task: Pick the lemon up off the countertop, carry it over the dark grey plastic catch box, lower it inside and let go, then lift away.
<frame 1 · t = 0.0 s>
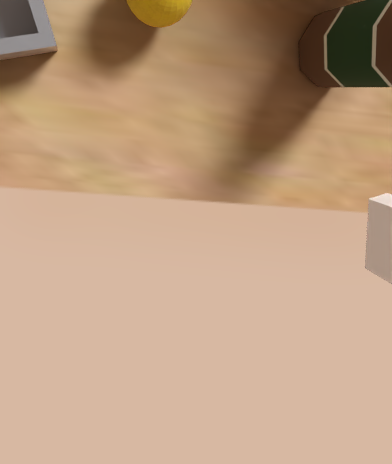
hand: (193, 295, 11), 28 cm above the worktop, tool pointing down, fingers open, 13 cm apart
beer bottle: (323, 50, 39), on the worktop
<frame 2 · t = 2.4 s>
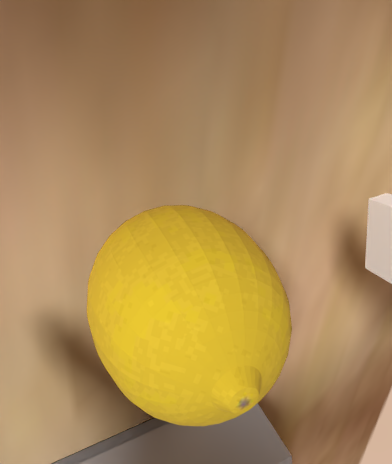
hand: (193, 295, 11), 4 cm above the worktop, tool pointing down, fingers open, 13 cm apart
lemon: (150, 246, 14), on the worktop
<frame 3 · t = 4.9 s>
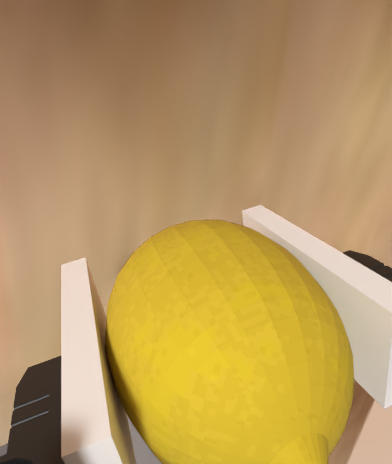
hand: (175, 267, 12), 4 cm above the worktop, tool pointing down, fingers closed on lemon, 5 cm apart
lemon: (171, 261, 13), point 3 cm above the worktop, touching gripper
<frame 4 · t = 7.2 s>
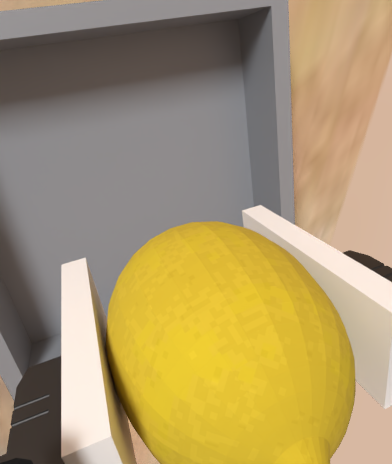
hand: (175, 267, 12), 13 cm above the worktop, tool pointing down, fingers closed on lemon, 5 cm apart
lemon: (172, 262, 13), point 12 cm above the worktop, touching gripper
catch box: (126, 190, 24), on the worktop
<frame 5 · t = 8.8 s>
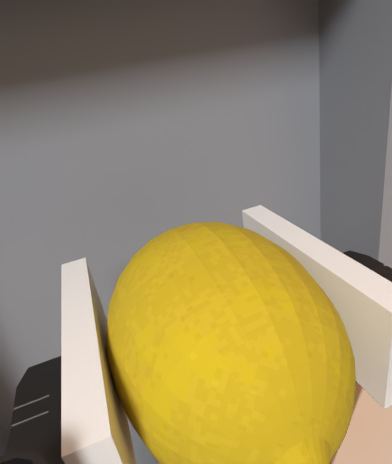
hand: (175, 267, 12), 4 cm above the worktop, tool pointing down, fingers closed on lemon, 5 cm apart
lemon: (172, 263, 13), point 4 cm above the worktop, touching gripper
catch box: (145, 225, 16), on the worktop
when the fingers open (2 cm above the worktop, at t = 10.0 s): lemon stays where it is, resting on catch box.
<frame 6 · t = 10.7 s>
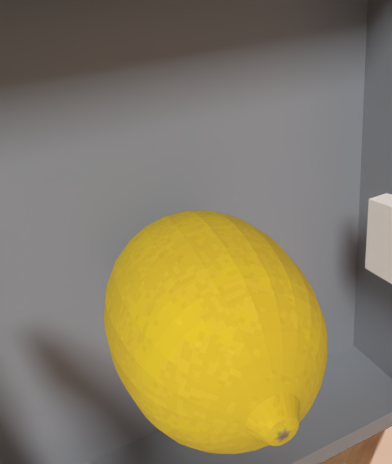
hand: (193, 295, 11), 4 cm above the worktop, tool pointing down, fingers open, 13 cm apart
lemon: (166, 251, 14), resting on catch box
catch box: (162, 246, 14), on the worktop
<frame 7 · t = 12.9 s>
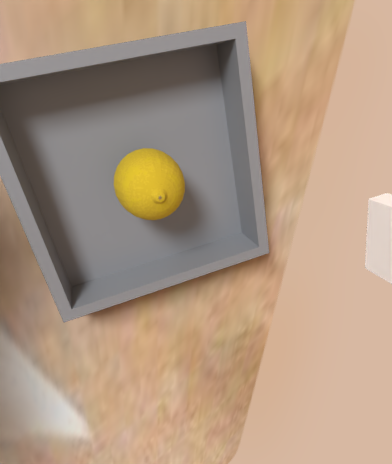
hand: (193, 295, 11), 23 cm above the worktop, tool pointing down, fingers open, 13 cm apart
lemon: (139, 172, 32), resting on catch box
catch box: (138, 171, 32), on the worktop
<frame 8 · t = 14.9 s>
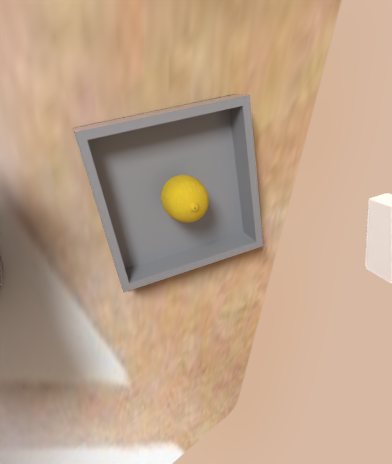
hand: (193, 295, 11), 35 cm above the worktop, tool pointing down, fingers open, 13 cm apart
lemon: (174, 189, 46), resting on catch box
catch box: (173, 188, 46), on the worktop
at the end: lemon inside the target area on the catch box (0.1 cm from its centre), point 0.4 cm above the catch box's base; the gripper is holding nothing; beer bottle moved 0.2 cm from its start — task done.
